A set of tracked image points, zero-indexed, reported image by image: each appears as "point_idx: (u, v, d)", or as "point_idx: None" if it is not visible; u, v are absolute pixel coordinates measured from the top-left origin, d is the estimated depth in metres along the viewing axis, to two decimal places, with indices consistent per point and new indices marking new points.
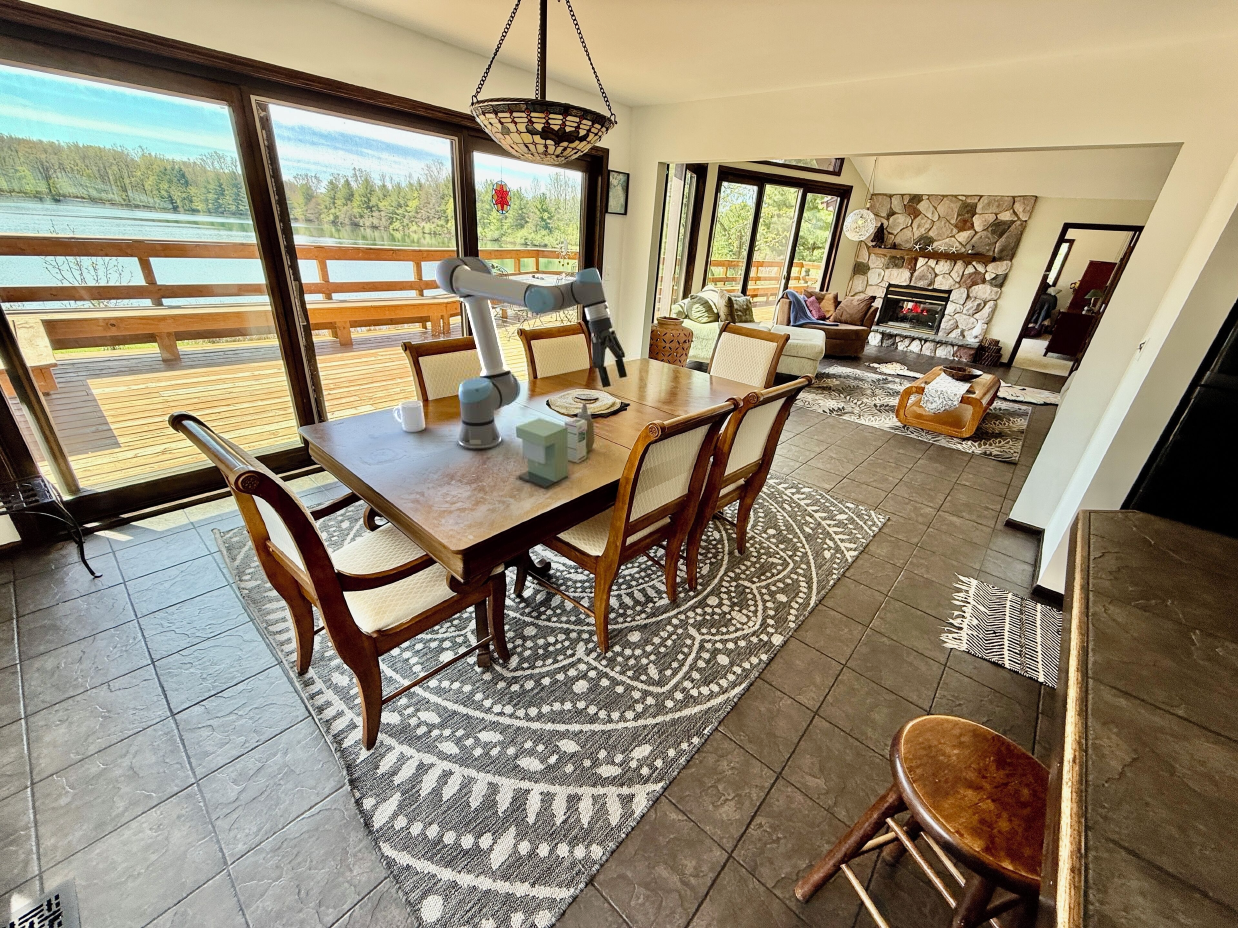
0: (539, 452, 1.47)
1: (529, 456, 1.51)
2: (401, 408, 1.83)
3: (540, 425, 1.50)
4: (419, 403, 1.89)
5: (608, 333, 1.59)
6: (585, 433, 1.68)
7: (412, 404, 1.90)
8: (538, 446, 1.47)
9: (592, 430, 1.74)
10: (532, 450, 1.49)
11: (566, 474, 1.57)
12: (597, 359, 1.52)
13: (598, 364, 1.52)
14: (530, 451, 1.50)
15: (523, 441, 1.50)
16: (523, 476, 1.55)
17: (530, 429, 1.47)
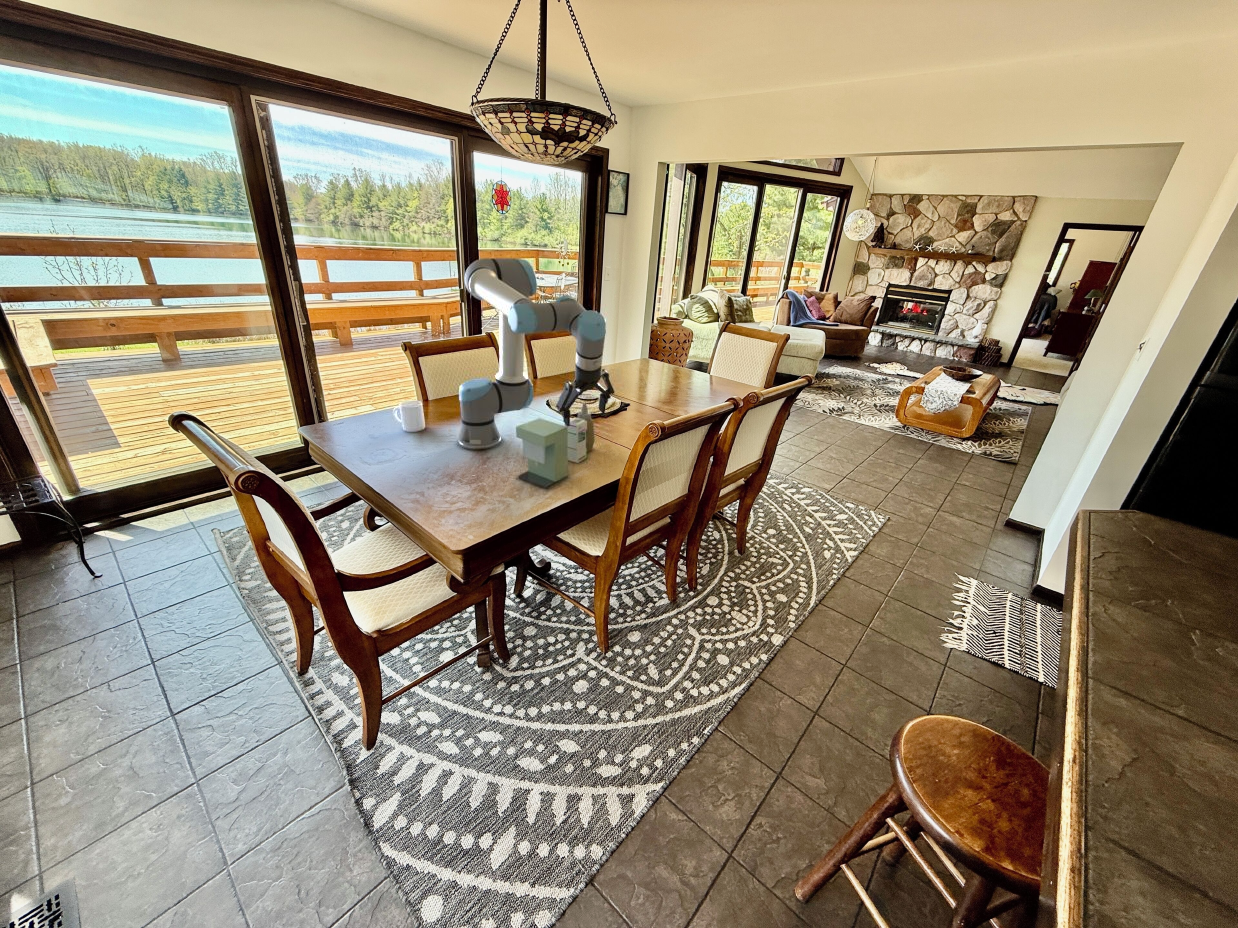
0: (539, 452, 1.47)
1: (529, 456, 1.51)
2: (401, 408, 1.83)
3: (540, 425, 1.50)
4: (419, 403, 1.89)
5: None
6: (585, 433, 1.68)
7: (412, 404, 1.90)
8: (538, 446, 1.47)
9: (592, 430, 1.74)
10: (532, 450, 1.49)
11: (566, 474, 1.57)
12: (560, 405, 1.42)
13: (559, 410, 1.43)
14: (530, 451, 1.50)
15: (523, 441, 1.50)
16: (523, 476, 1.55)
17: (530, 429, 1.47)
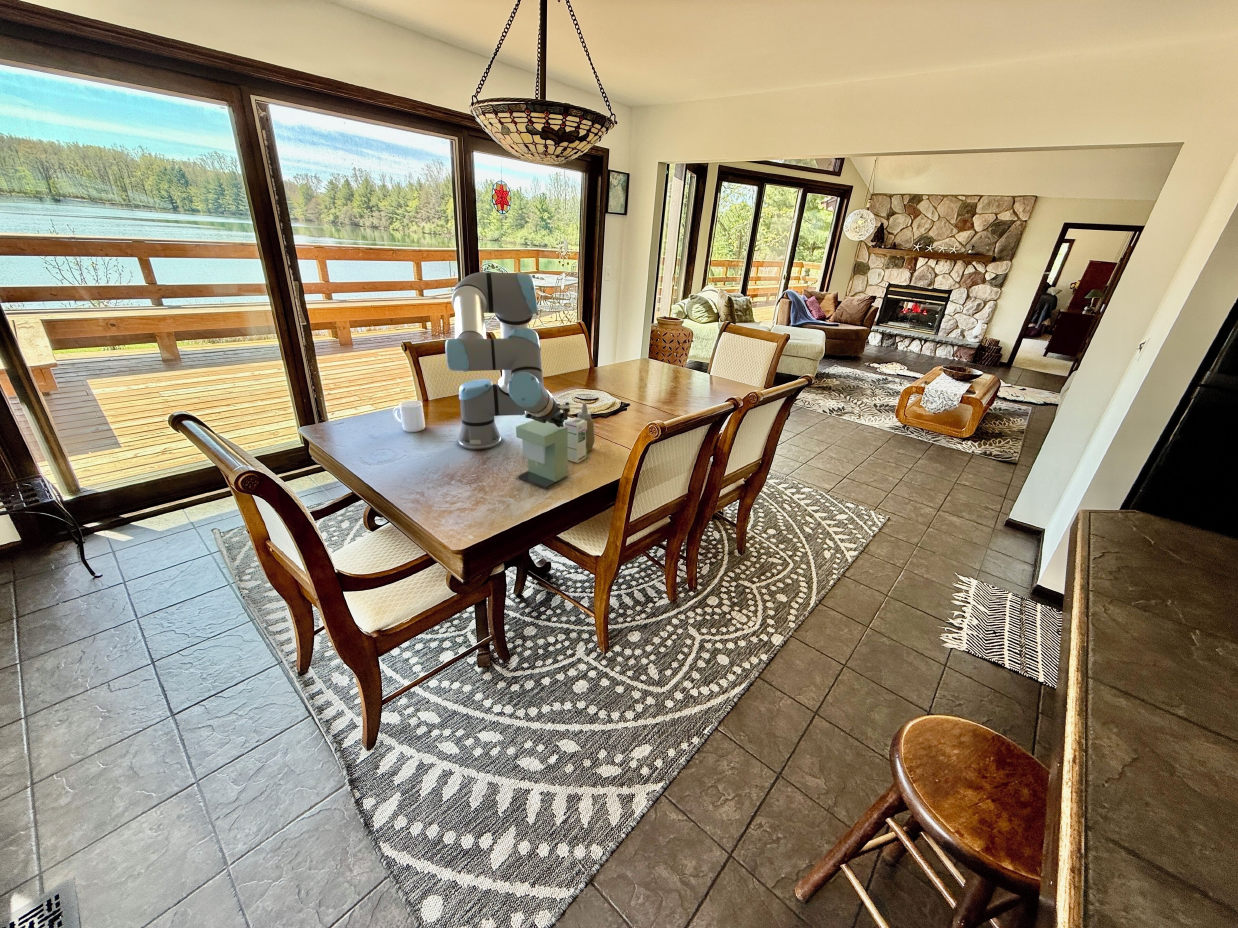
0: (539, 452, 1.47)
1: (529, 456, 1.51)
2: (401, 408, 1.83)
3: (540, 425, 1.50)
4: (419, 403, 1.89)
5: None
6: (585, 433, 1.68)
7: (412, 404, 1.90)
8: (538, 446, 1.47)
9: (592, 430, 1.74)
10: (532, 450, 1.49)
11: (566, 474, 1.57)
12: None
13: None
14: (530, 451, 1.50)
15: (523, 441, 1.50)
16: (523, 476, 1.55)
17: (530, 429, 1.47)
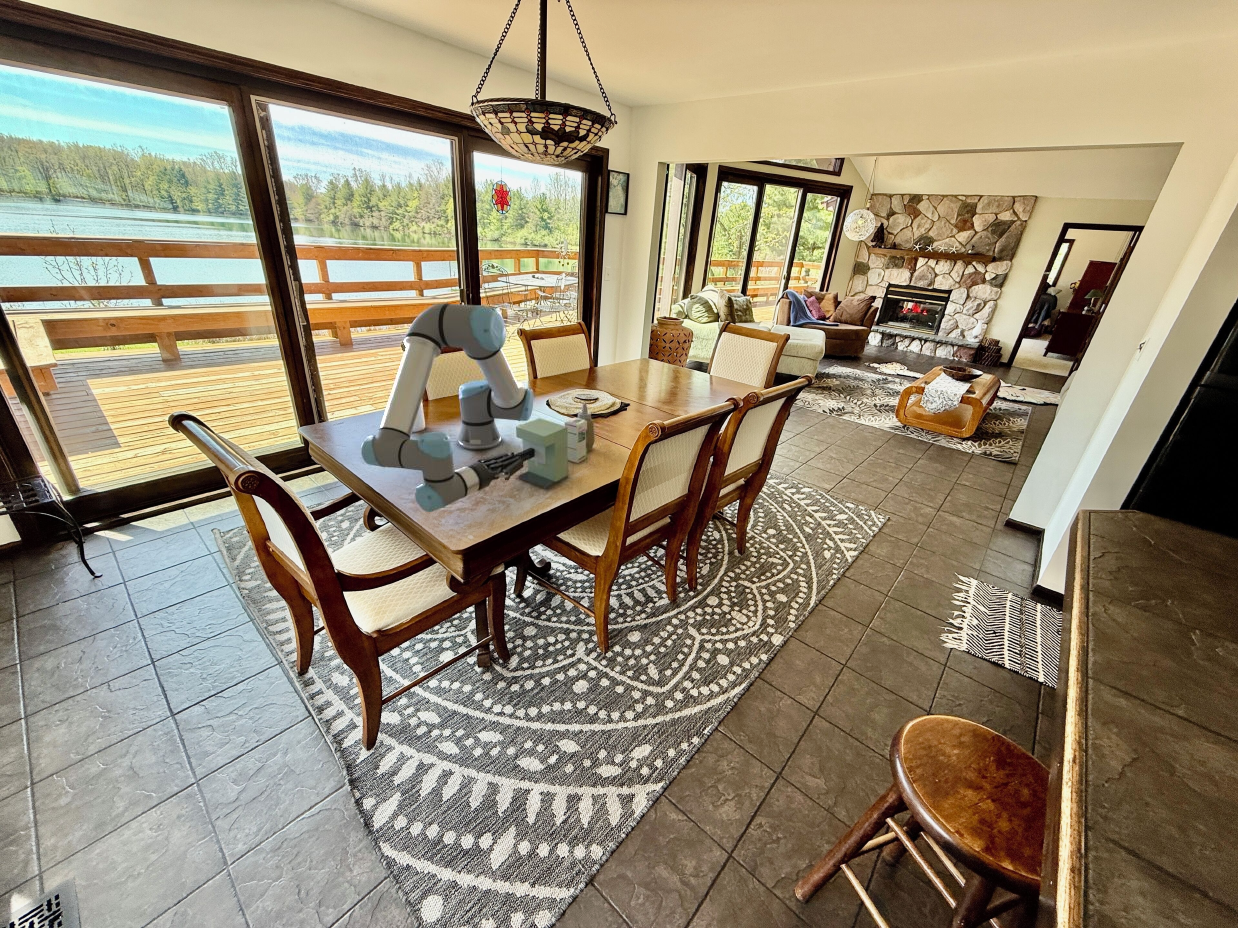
0: (539, 452, 1.47)
1: None
2: None
3: (540, 425, 1.50)
4: None
5: None
6: (585, 433, 1.68)
7: None
8: (538, 446, 1.47)
9: (592, 430, 1.74)
10: None
11: (566, 474, 1.57)
12: None
13: None
14: None
15: (523, 441, 1.50)
16: (523, 476, 1.55)
17: (530, 429, 1.47)
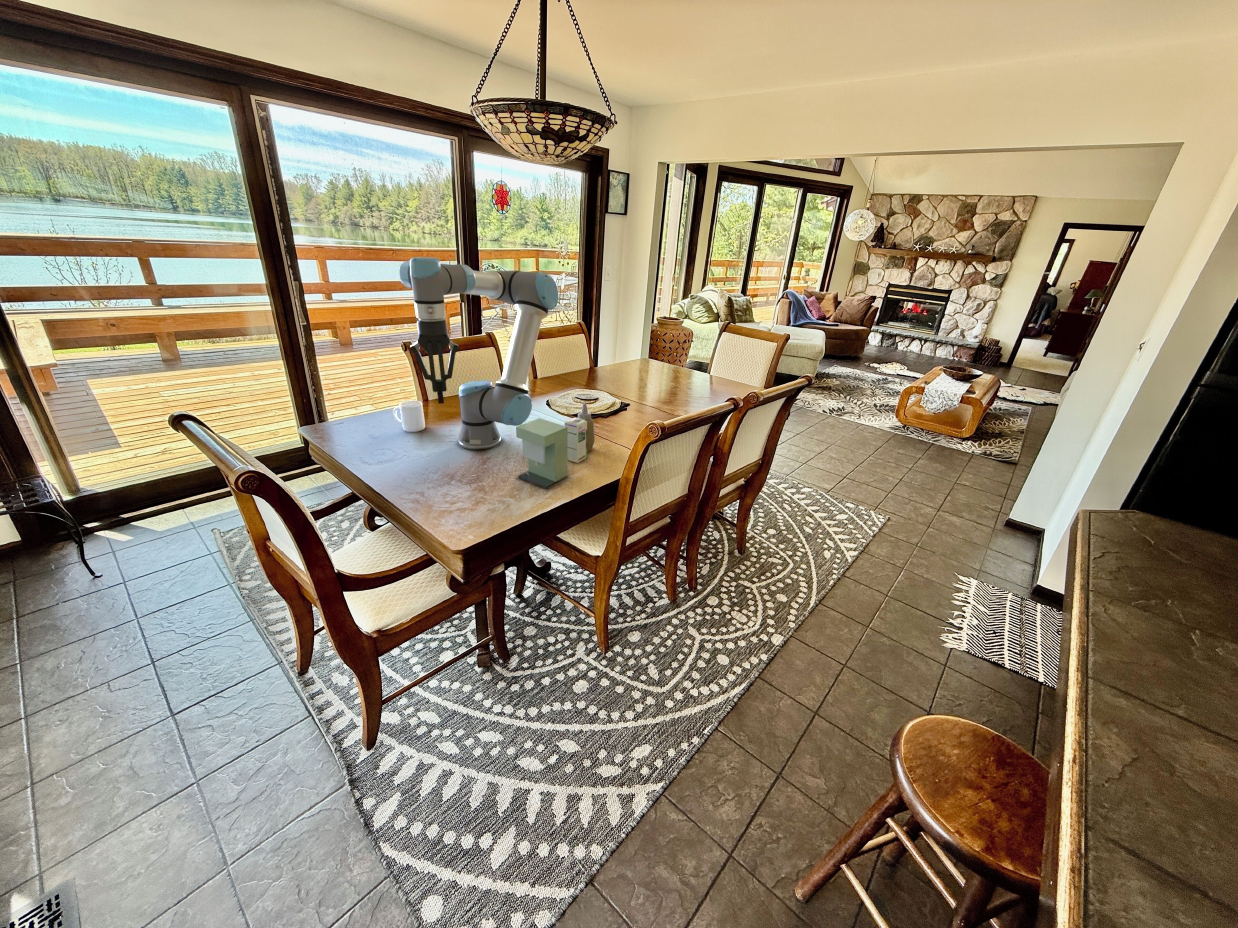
0: (539, 452, 1.47)
1: (529, 456, 1.51)
2: (401, 408, 1.83)
3: (540, 425, 1.50)
4: (419, 403, 1.89)
5: (440, 339, 1.32)
6: (585, 433, 1.68)
7: (412, 404, 1.90)
8: (538, 446, 1.47)
9: (592, 430, 1.74)
10: (532, 450, 1.49)
11: (566, 474, 1.57)
12: (422, 372, 1.35)
13: None
14: (530, 451, 1.50)
15: (523, 441, 1.50)
16: (523, 476, 1.55)
17: (530, 429, 1.47)
